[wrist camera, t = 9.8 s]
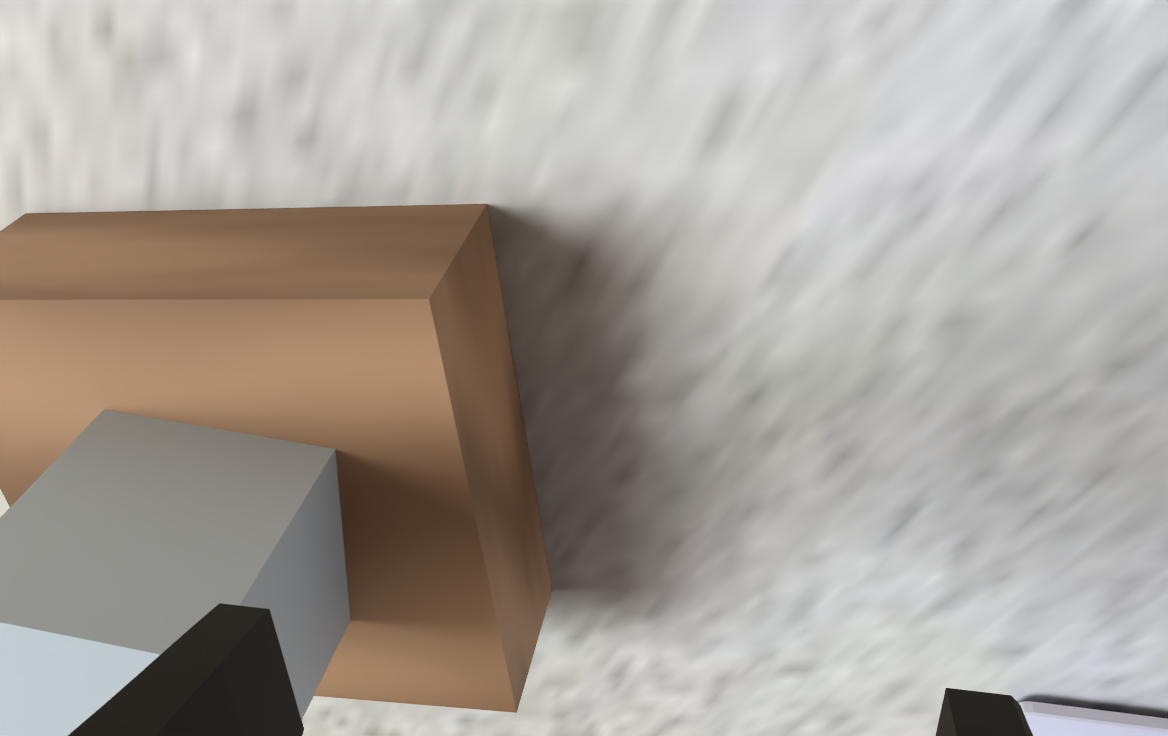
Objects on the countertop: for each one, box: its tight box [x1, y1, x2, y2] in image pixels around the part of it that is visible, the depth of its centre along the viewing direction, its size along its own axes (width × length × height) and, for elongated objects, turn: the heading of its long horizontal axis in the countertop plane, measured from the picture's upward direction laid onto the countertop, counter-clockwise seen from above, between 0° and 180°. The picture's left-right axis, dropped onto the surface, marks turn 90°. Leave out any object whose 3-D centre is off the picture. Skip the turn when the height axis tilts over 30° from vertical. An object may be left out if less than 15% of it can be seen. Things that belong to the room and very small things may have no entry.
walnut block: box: [0, 204, 552, 712], centre depth 22 cm, size 10×10×4 cm
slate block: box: [0, 409, 350, 736], centre depth 19 cm, size 4×4×5 cm
